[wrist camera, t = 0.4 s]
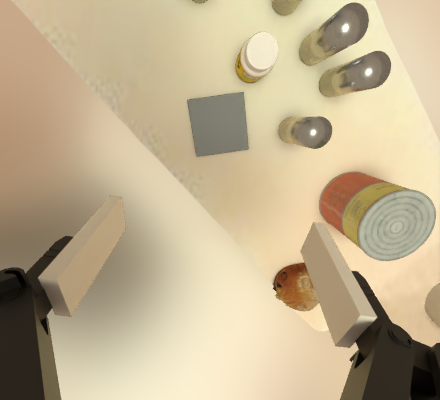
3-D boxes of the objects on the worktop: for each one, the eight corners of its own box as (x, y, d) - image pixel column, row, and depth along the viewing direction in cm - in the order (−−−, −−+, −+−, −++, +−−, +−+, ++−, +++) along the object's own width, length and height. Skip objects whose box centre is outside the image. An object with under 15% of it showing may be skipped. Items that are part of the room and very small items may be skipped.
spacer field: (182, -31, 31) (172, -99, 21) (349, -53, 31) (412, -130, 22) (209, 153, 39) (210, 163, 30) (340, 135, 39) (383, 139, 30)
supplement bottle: (242, 43, 34) (253, 19, 26) (270, 56, 35) (288, 37, 27) (230, 76, 35) (237, 63, 27) (257, 88, 36) (271, 79, 28)
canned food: (383, 208, 45) (443, 237, 33) (331, 236, 46) (372, 273, 35) (365, 160, 41) (425, 174, 30) (309, 191, 43) (347, 216, 31)
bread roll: (299, 288, 55) (328, 311, 48) (266, 301, 50) (293, 330, 43) (306, 252, 51) (338, 273, 45) (272, 263, 47) (302, 288, 40)
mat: (187, 100, 36) (187, 99, 35) (242, 92, 36) (243, 91, 35) (196, 156, 39) (196, 156, 38) (247, 148, 39) (248, 149, 38)
